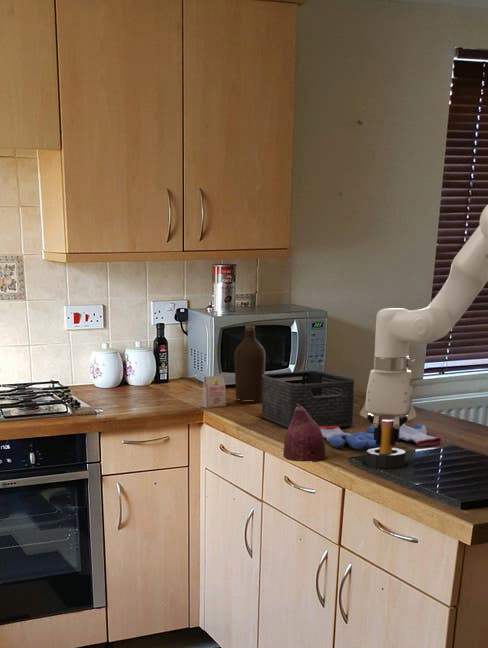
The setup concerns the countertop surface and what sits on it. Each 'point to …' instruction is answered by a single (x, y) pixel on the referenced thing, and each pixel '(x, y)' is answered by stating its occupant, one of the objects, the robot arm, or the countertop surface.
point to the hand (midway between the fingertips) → (386, 443)
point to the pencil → (386, 436)
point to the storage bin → (308, 398)
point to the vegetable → (303, 438)
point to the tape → (385, 458)
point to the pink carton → (214, 391)
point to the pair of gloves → (367, 439)
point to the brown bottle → (249, 368)
